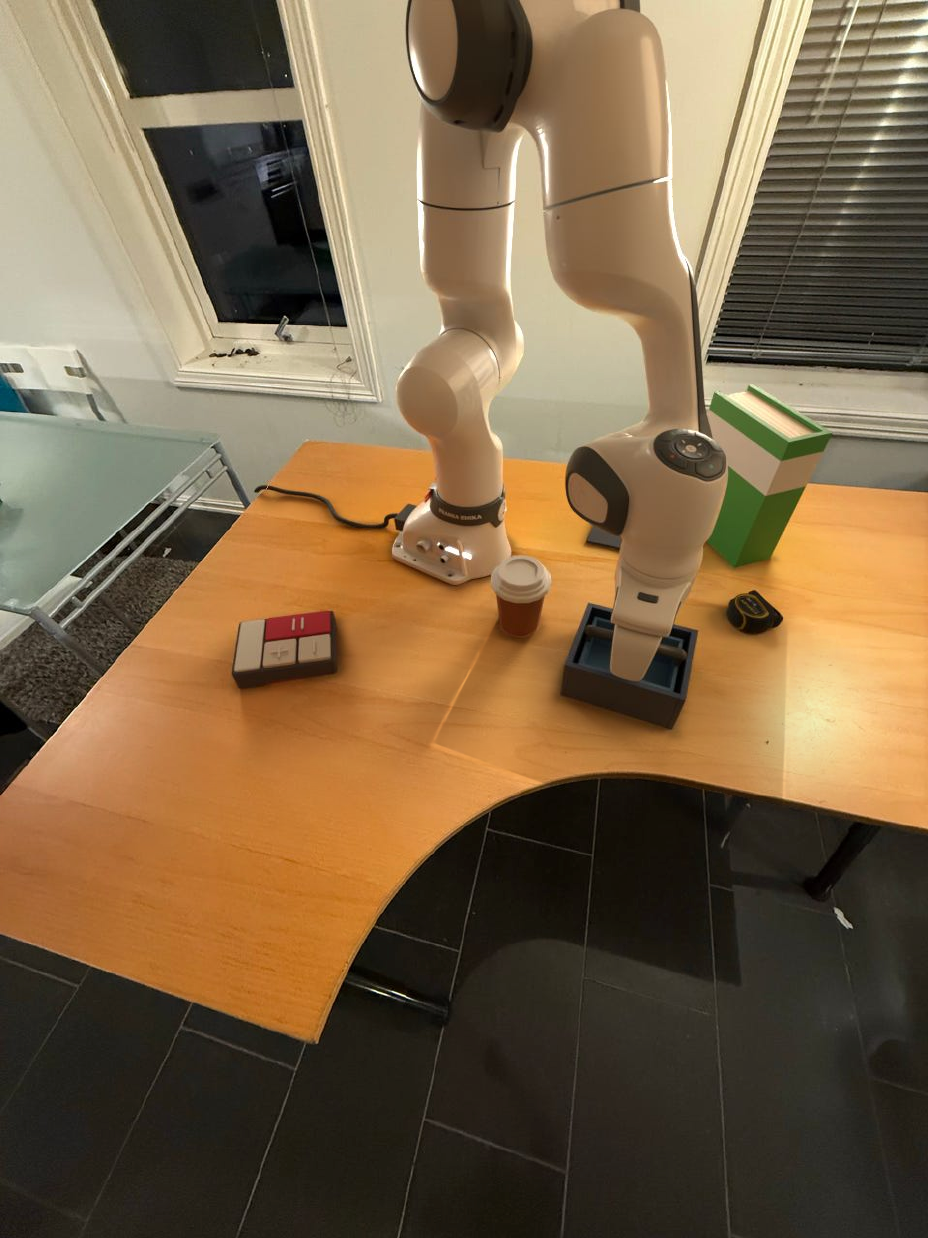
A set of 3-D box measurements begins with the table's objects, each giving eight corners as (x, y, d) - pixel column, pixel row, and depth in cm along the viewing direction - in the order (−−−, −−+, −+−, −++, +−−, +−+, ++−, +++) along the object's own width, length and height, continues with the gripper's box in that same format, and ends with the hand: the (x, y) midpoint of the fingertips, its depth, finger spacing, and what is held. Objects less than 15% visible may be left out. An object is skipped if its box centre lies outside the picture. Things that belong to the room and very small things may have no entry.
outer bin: (559, 697, 76) (564, 665, 70) (582, 635, 84) (588, 602, 78) (671, 732, 71) (685, 700, 66) (684, 663, 79) (698, 630, 73)
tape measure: (779, 631, 82) (789, 615, 79) (741, 642, 81) (750, 626, 78) (750, 602, 87) (758, 585, 84) (714, 612, 85) (721, 596, 83)
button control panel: (333, 658, 78) (229, 672, 76) (338, 675, 81) (238, 689, 80) (332, 606, 86) (237, 618, 84) (337, 624, 89) (245, 636, 87)
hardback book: (678, 511, 104) (714, 391, 86) (711, 504, 105) (753, 383, 87) (733, 568, 92) (788, 442, 74) (770, 558, 93) (832, 432, 76)
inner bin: (569, 688, 76) (576, 650, 70) (586, 641, 82) (593, 602, 75) (666, 718, 72) (682, 680, 65) (677, 666, 78) (692, 627, 71)
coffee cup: (497, 649, 82) (497, 595, 74) (486, 608, 89) (484, 554, 80) (553, 640, 83) (560, 586, 74) (538, 600, 89) (543, 545, 80)
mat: (586, 542, 99) (586, 540, 98) (601, 507, 106) (601, 504, 106) (674, 562, 94) (675, 559, 94) (683, 523, 101) (684, 520, 101)
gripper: (644, 515, 69) (625, 590, 79) (608, 624, 56) (592, 696, 67) (694, 525, 67) (668, 601, 77) (669, 640, 54) (642, 712, 65)
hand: (633, 646), depth 72 cm, fingers open, 5 cm apart
